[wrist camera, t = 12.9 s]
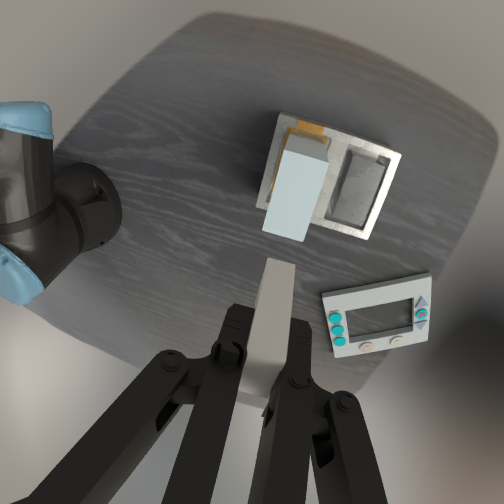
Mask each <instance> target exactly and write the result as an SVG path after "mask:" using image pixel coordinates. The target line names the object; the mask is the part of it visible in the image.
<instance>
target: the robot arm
mask: <svg viewBox="0 0 504 504" xmlns="http://www.w3.org/2000/svg"><path fill="white" fill-rule="evenodd" d="M53 139H54V135H53V134H52V114H51V109H50V107H49V106H48V105H47V104H45V103H43V102H33V101H19V102H1V103H0V295H1V296H2V297H3V298H5V299H7V300H8V301H10V302H11V303H14V304H17V305H25V304H27V303H29V302H30V301H31V300H32V299H34V298H35V297H36V296H37V295H38V294H39V293H42V292H43V290H44V289H45V288H46V287H47V286H48V285H49V284H50V283H51V282H52V281H53V280H54V279H55V278H56V277H57V276H58V275H59V274H60V273H61V272H62V271H63V270H64V269H65V268H66V267H67V266H68V265H69V264H70V263H71V262H72V261H73V260H74V259H75V258H76V257H77V256H78V255H79V254H81V253H84V252H87V251H90V250H92V249H95V248H98V247H101V246H103V245H104V244H106V243H107V242H108V241H109V240H110V239H112V238H113V237H114V236H115V234H116V233H117V231H118V230H119V227H120V224H121V218H122V209H121V203H120V199H119V196H118V193H117V191H116V189H115V187H114V185H113V184H112V182H111V181H110V179H109V178H108V177H107V176H106V175H105V174H104V173H103V172H102V171H101V170H99V169H98V168H96V167H94V166H92V165H89V164H84V163H79V164H75V165H72V166H70V167H68V168H66V169H64V170H63V171H61V172H60V173H59V174H58V175H57V176H56V178H55V179H54V170H53ZM294 274H295V265H294V264H290V263H287V262H283V261H279V260H276V259H272V258H268V259H267V262H266V266H265V269H264V273H263V276H262V280H261V283H260V287H259V290H258V293H257V297H256V301H255V305H254V308H250V307H247V306H243V305H239V304H236V303H234V304H233V305H232V306H231V307H230V308H229V309H228V310H227V313H226V316H225V319H224V322H223V325H222V328H221V331H220V334H219V337H218V340H217V341H215V343H214V344H213V346H212V349H211V354H210V355H208V356H207V357H204V358H199V359H188V358H186V357H185V356H184V355H183V354H182V353H181V352H178V351H176V350H164V351H161V352H160V353H158V354H157V355H156V356H155V357H154V358H153V359H152V360H151V361H150V363H149V364H148V365H147V366H146V367H145V368H144V369H143V370H142V371H141V373H140V374H139V375H138V376H137V377H136V378H135V379H134V380H133V381H132V382H131V384H130V385H129V386H128V387H127V388H126V389H125V390H124V391H123V392H122V394H121V395H120V396H119V397H118V398H117V399H116V400H115V401H114V403H113V404H112V405H111V406H110V407H109V408H108V409H107V410H106V411H105V412H104V413H103V415H102V416H101V417H100V418H99V419H98V420H97V421H96V422H95V423H94V425H93V426H92V427H91V428H90V429H89V430H88V431H87V432H86V433H85V434H84V436H83V437H82V438H81V439H80V440H79V441H78V442H77V443H76V444H75V446H74V447H73V448H72V449H71V450H70V451H69V452H68V453H67V455H65V457H64V458H63V459H62V460H61V461H60V462H59V463H58V464H57V465H56V467H55V468H54V469H53V470H52V471H51V472H50V473H49V474H48V476H47V477H46V478H45V479H44V480H43V481H42V482H41V483H40V484H39V485H38V487H37V488H36V489H35V490H34V491H33V492H32V493H31V494H30V495H29V497H26V498H24V499H21V500H19V501H16V502H14V503H11V504H108V503H109V501H110V500H111V499H112V498H113V496H114V495H115V494H116V493H117V491H118V490H119V489H120V487H121V486H122V485H123V484H124V482H125V481H126V480H127V479H128V477H129V476H130V475H131V473H132V472H133V471H134V469H135V468H136V467H137V466H138V464H139V463H140V462H141V460H142V459H143V458H144V456H145V455H146V454H147V452H148V451H149V450H150V448H151V447H152V446H153V444H154V443H155V442H156V440H157V439H158V437H159V436H160V435H161V434H162V432H163V431H164V430H165V428H166V427H167V425H168V424H169V423H170V422H171V420H172V419H173V418H174V416H175V415H176V414H177V412H178V411H179V409H180V408H181V407H182V405H183V404H194V407H193V410H192V413H191V416H190V419H189V422H188V425H187V428H186V431H185V434H184V437H183V440H182V443H181V446H180V449H179V452H178V455H177V458H176V461H175V464H174V467H173V470H172V473H171V476H170V479H169V482H168V485H167V488H166V491H165V494H164V497H163V500H162V503H161V504H210V501H211V498H212V493H213V490H214V486H215V482H216V478H217V474H218V470H219V466H220V462H221V458H222V454H223V450H224V446H225V442H226V438H227V434H228V430H229V426H230V422H231V417H232V413H233V409H234V405H235V401H236V397H237V392H238V391H241V392H245V393H249V394H254V395H258V396H262V397H266V398H268V396H269V394H270V398H269V402H268V404H267V406H266V408H265V410H264V411H263V414H262V417H264V421H263V426H262V431H261V437H260V443H259V448H258V453H257V459H256V464H255V469H254V474H253V479H252V485H251V490H250V495H249V500H248V504H305V500H306V491H307V481H308V471H309V459H310V455H311V460H312V466H313V472H314V477H315V482H316V488H317V494H318V500H319V504H388V502H387V498H386V495H385V490H384V487H383V483H382V479H381V475H380V472H379V468H378V464H377V461H376V457H375V454H374V450H373V447H372V443H371V440H370V436H369V433H368V430H367V426H366V423H365V420H364V416H363V413H362V410H361V407H360V403H359V401H358V399H357V398H356V397H355V396H354V395H353V394H352V393H350V392H347V391H337V392H335V393H334V394H332V393H330V392H328V391H326V390H324V389H322V388H321V387H319V386H318V385H317V384H316V383H315V382H314V380H313V378H312V376H311V346H312V340H311V339H312V329H311V327H310V325H309V323H308V321H304V320H299V319H295V318H291V309H292V298H293V286H294Z"/></svg>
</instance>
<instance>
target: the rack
mask: <svg viewBox="0 0 504 504" xmlns="http://www.w3.org/2000/svg"><path fill="white" fill-rule="evenodd" d="M291 131H292V132H296V133H299V134H303V135H306V136H310V137H313V138H316V139H320V140H322V141H323V144H324V147H325V150H326V154H327V157H328V160H329V166H328V169H327V172H326V175H325V178H324V181H323V184H322V187H321V190H320V193H319V196H318V199H317V202H316V205H315V208H314V211H313V214H312V217H311V220H310V223H313V224H317V225H320V226H323V227H327V228H330V229H333V230H337V231H340V232H343V233H346V234H350V235H353V236H356V237H359V238H362V239H366V240H368V237H369V235H370V233H371V230H372V228H373V226H374V223H375V221H376V219H377V216H378V214H379V211H380V209H381V207H382V204H383V202H384V199H385V197H386V194H387V192H388V189H389V187H390V184H391V181H392V179H393V176H394V173H395V171H396V168H397V165H398V163H399V160H400V157H401V154H400V153H399V152H398V151H396V150H395V149H394V148H392V147H390V146H388V145H385V144H383V143H380V142H377V141H375V140H372V139H369V138H367V137H364V136H361V135H358V134H355V133H352V132H350V131H347V130H344V129H341V128H338V127H334V126H331V125H328V124H325V123H322V122H318V121H315V120H312V119H308V118H305V117H301V116H298V115H294V114H290V113H287V112H283V111H282V112H281V113H280V114H279V117H278V121H277V125H276V129H275V132H274V136H273V140H272V144H271V148H270V152H269V156H268V160H267V164H266V168H265V172H264V176H263V180H262V184H261V188H260V192H259V196H258V200H257V204H256V207H257V208H261V209H265V210H268V207H269V203H270V200H271V196H272V192H273V189H274V185H275V181H276V178H277V174H278V170H279V166H280V163H281V159H282V155H283V151H284V148H285V145H286V143H287V140H288V137H289V134H290V132H291Z"/></svg>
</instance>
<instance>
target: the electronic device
mask: <svg viewBox="0 0 504 504" xmlns="http://www.w3.org/2000/svg"><path fill="white" fill-rule="evenodd" d="M431 277H432V276H431V274H430V273H429V272H428V273H423V274H418V275H414V276H409V277H404V278H399V279H395V280H390V281H385V282H380V283H374V284H369V285H364V286H359V287H353V288H348V289H342V290H337V291H331V292H326V293H322V299H323V304H324V308H325V312H326V317H327V321H328V326H329V331H330V335H331V340H332V345H333V350H334V355H335V358H339V357H345V356H351V355H358V354H363V353H369V352H375V351H380V350H385V349H390V348H395V347H400V346H405V345H409V344H414V343H418V342H422V341H427V340H428V330H429V318H430V303H431V301H430V300H431ZM408 298H412V321H411V322H410V323H411V324H409V325H408V326H407V327H404V328H399V329H394V330H389V331H384V332H379V333H374V334H368V335H362V336H357V337H351V338H349V335H348V329H347V322H346V316H345V311H347V310H352V309H358V308H363V307H369V306H374V305H379V304H384V303H389V302H394V301H399V300H403V299H408Z"/></svg>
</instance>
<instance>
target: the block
mask: <svg viewBox="0 0 504 504" xmlns="http://www.w3.org/2000/svg"><path fill="white" fill-rule="evenodd" d="M328 166H329V160H328V157H327V154H326V150H325V147H324V144H323V141H322V140H320V139H316V138H313V137H310V136H306V135H303V134H299V133H296V132H292V131H291V132H290V134H289V137H288V140H287V143H286V145H285V148H284V151H283V155H282V159H281V163H280V166H279V170H278V174H277V178H276V181H275V185H274V189H273V192H272V196H271V200H270V203H269V207H268V211H267V215H266V218H265V222H264V226H263V229H262V231H266V232H269V233H273V234H276V235H280V236H284V237H287V238H291V239H294V240H298V241H301V242H303V240H304V237H305V235H306V232H307V229H308V226H309V223H310V220H311V217H312V214H313V211H314V208H315V205H316V202H317V199H318V196H319V193H320V190H321V187H322V184H323V181H324V178H325V175H326V172H327V169H328Z"/></svg>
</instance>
